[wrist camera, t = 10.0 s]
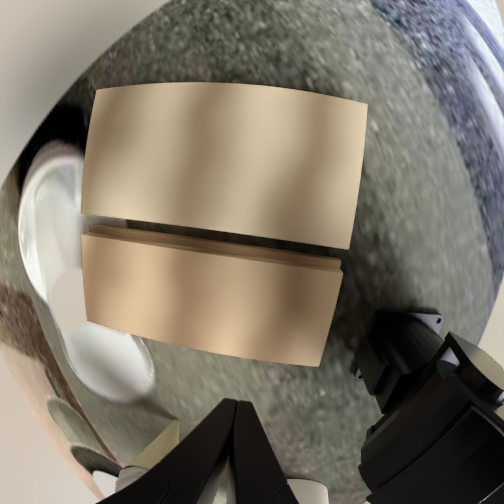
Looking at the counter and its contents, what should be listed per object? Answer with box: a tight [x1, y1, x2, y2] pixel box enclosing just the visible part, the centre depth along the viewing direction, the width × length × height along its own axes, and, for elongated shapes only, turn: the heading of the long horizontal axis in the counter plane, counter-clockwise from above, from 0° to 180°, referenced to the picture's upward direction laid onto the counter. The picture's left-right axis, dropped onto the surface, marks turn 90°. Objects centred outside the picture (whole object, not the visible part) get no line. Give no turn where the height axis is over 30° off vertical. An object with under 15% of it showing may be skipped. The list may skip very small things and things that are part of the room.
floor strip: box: [81, 224, 343, 367], centre depth 19 cm, size 18×8×2 cm, turn 83°
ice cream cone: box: [115, 419, 179, 492], centre depth 16 cm, size 5×5×15 cm
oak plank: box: [81, 82, 368, 250], centre depth 17 cm, size 18×9×2 cm, turn 83°
